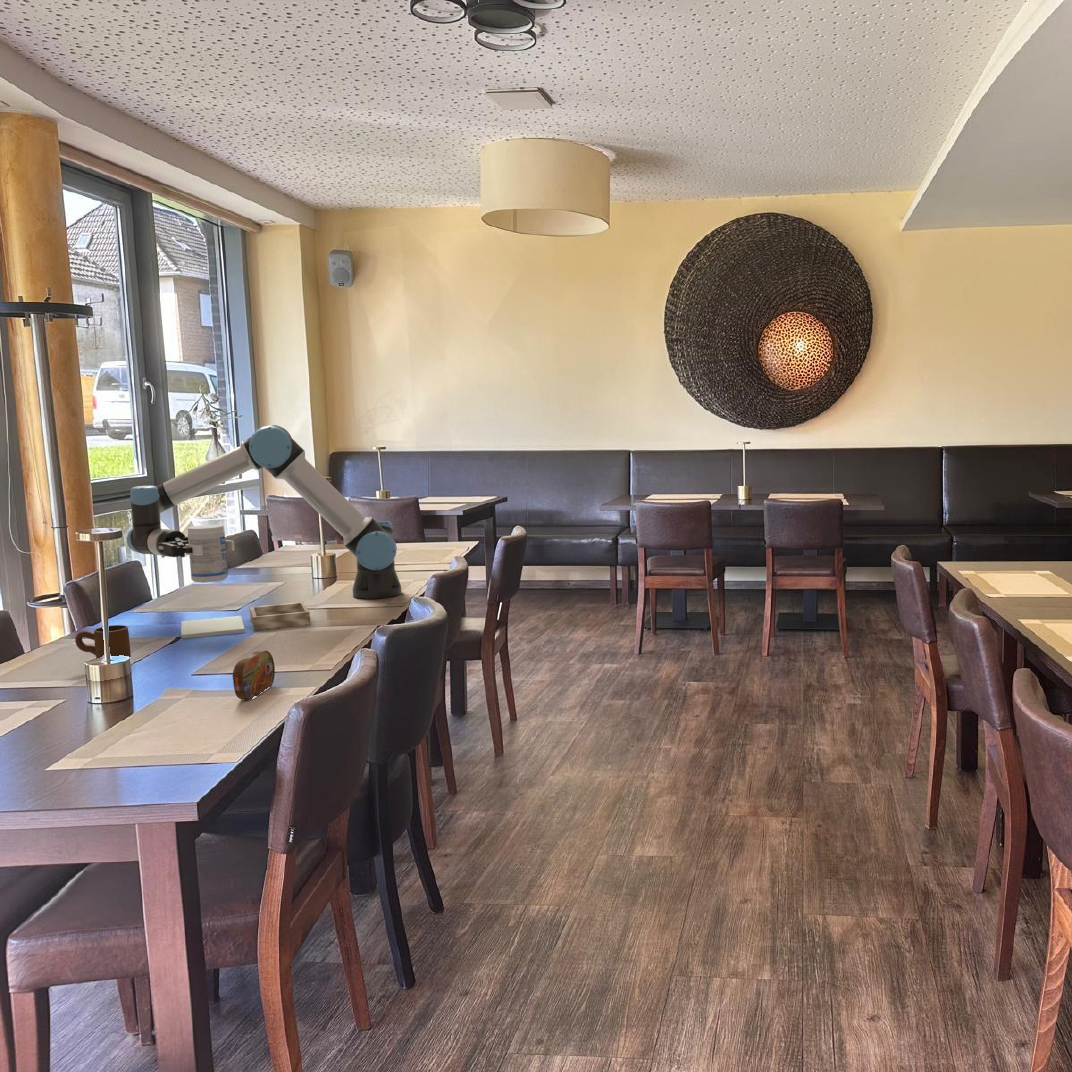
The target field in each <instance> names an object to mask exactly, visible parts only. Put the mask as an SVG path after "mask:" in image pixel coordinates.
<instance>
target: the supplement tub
mask: <svg viewBox="0 0 1072 1072" xmlns="http://www.w3.org/2000/svg"><path fill="white" fill-rule="evenodd" d="M187 537H188V544H191V545H201V546H202V548H203V556H195V555H189V565H190V566H189V567H190V568H189V569H190V578H191V580H192V581H193V582H194V583H213V582H221V581H224V580H226V579H227V578H228V574H229V572H228V571H229V570H228V559H227V550H226V545H225V538H226V534H225V529H224V525H223V524H203V525H192V526H189V527H187Z"/></svg>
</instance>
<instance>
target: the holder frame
mask: <svg viewBox="0 0 1072 1072" xmlns="http://www.w3.org/2000/svg"><path fill="white" fill-rule="evenodd" d="M310 613H311V612H310V611H309V608H308V607H307V605H306V604H305V602H304V601H303V602H301V601H299V602H291V603H281V604H271V605H258V606H250V607H249V614H250V615H249V616H250V622H251V624H252V625H251V626H252V628H253V630H254V629H260V630H264V629H263V628H270V629H278V628H277V627H280V628H287V627H286V626H290V627H296V626H295V625H300V626H306V625H305V624H310V625H311V614H310Z"/></svg>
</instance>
